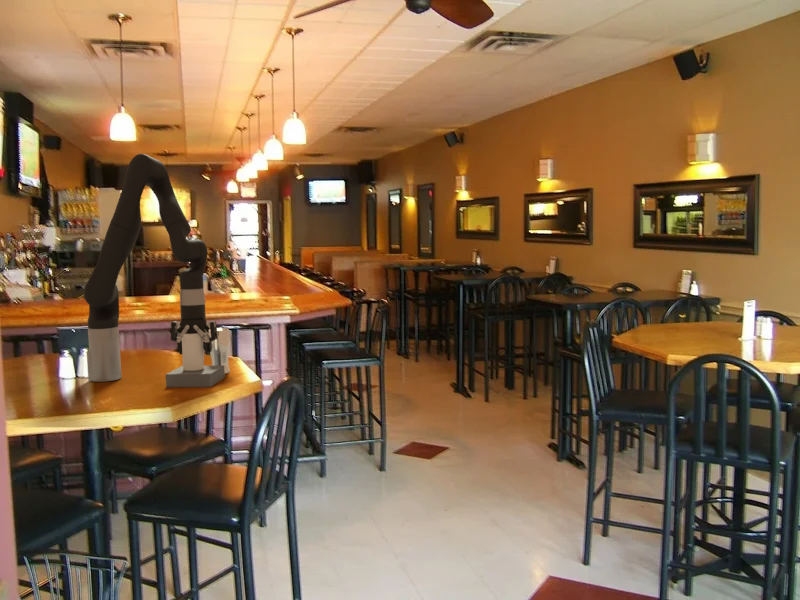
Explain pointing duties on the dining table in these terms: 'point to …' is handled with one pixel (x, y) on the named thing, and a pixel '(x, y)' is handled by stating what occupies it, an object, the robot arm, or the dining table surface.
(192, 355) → the can
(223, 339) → the beer glass
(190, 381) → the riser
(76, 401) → the dining table surface
